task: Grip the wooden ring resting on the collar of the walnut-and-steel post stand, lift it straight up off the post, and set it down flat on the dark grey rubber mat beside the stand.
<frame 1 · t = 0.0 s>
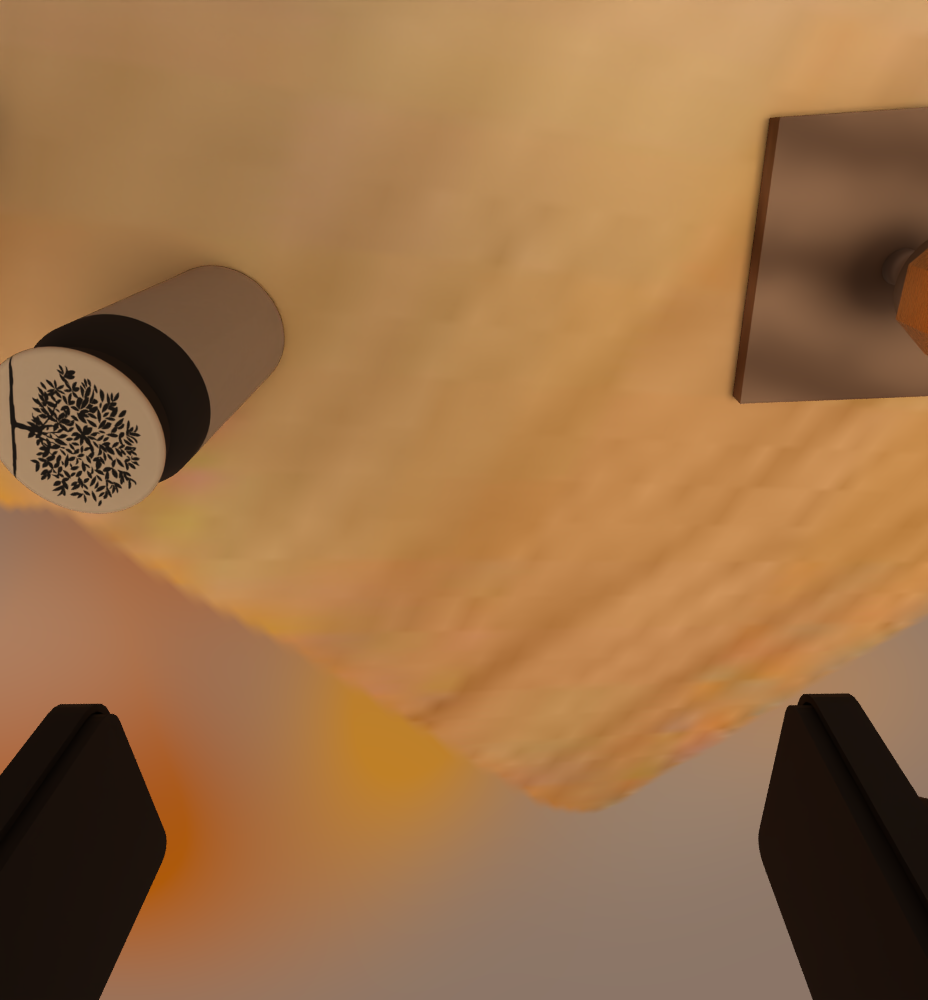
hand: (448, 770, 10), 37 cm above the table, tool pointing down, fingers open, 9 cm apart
post stand: (887, 262, 41), on the table
travel mug: (225, 328, 44), on the table
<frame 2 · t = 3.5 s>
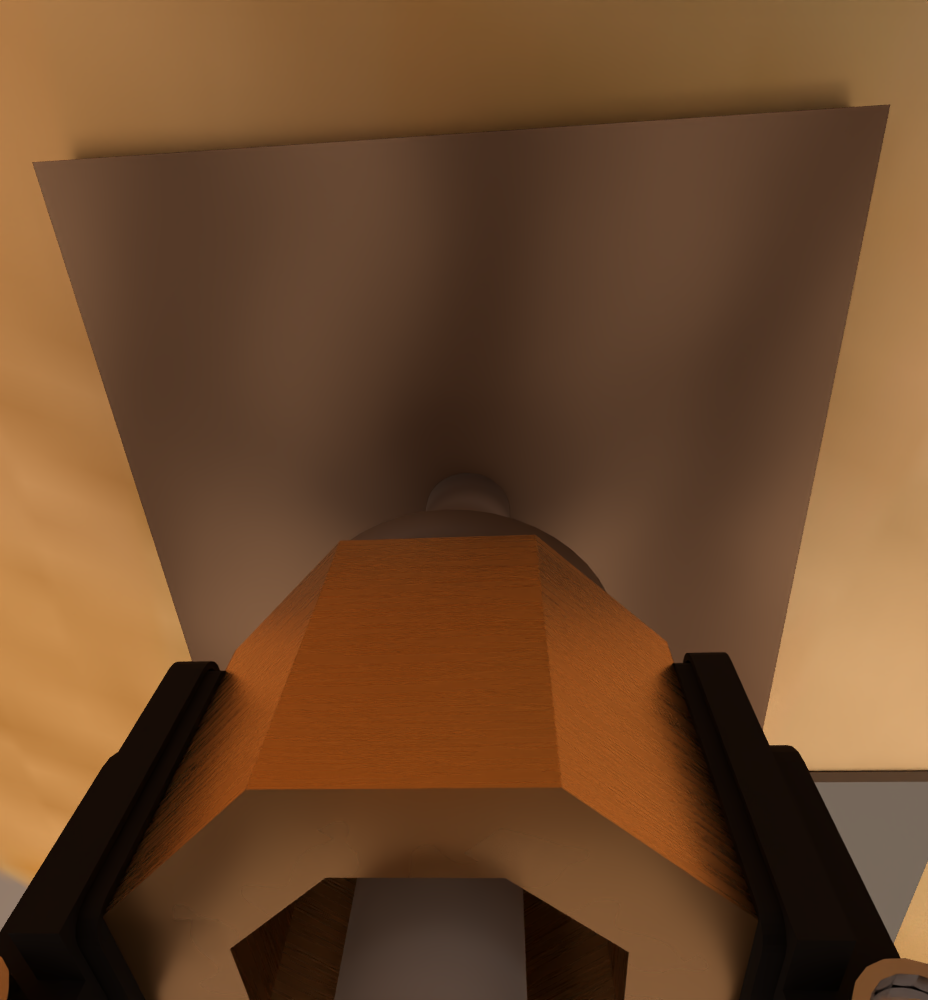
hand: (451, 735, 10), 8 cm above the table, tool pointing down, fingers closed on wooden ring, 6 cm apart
wooden ring: (452, 711, 11), point 8 cm above the table, touching gripper, post stand
post stand: (470, 482, 18), on the table
rubber mat: (710, 884, 25), on the table
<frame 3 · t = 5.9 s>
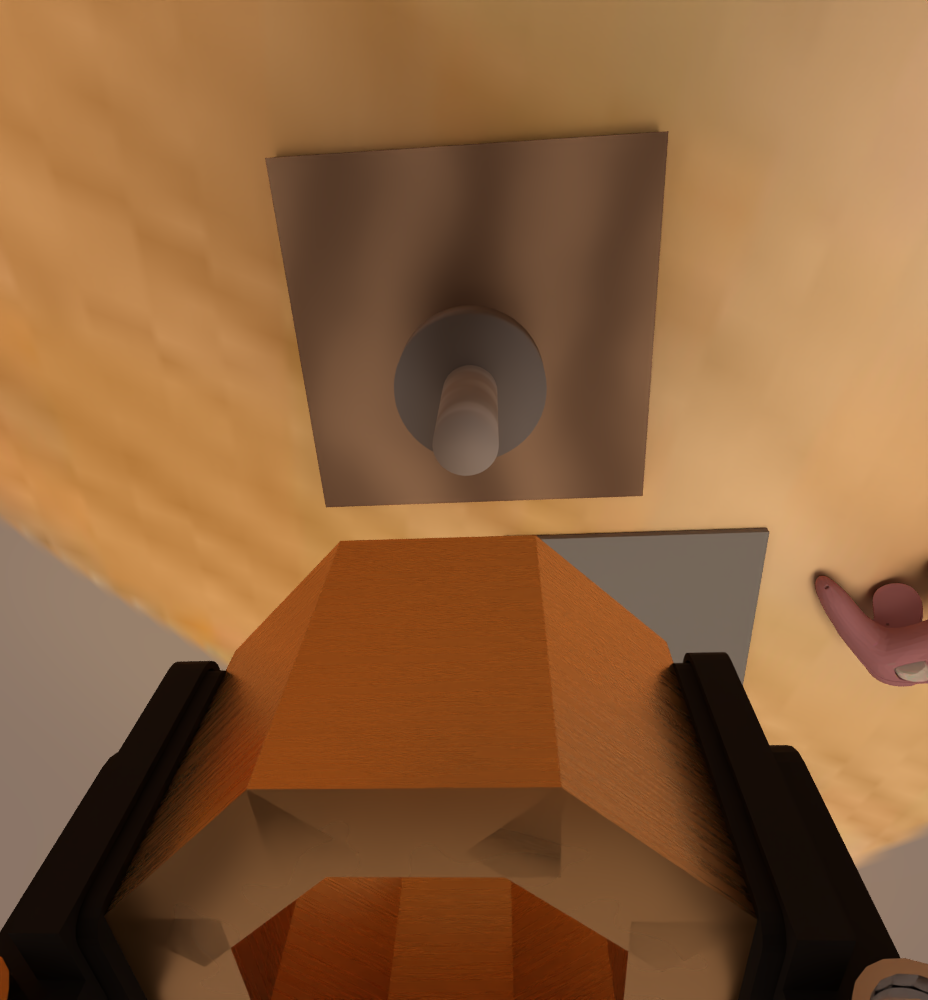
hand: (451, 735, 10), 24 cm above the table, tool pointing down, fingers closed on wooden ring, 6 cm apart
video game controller: (907, 568, 37), on the table
wooden ring: (452, 711, 11), point 24 cm above the table, touching gripper
post stand: (474, 336, 32), on the table
rubber mat: (627, 621, 39), on the table
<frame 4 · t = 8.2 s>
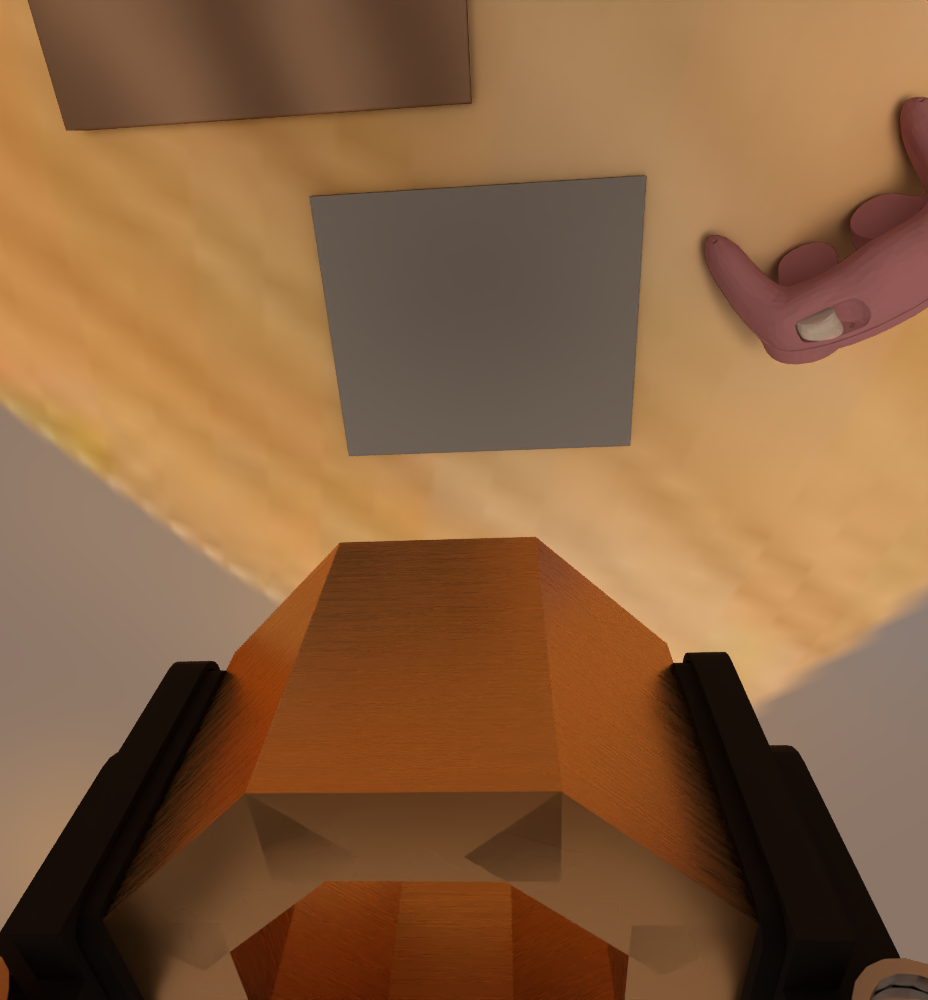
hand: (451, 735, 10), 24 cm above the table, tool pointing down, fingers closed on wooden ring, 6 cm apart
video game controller: (824, 230, 29), on the table
wooden ring: (452, 713, 11), point 24 cm above the table, touching gripper
rubber mat: (482, 328, 31), on the table
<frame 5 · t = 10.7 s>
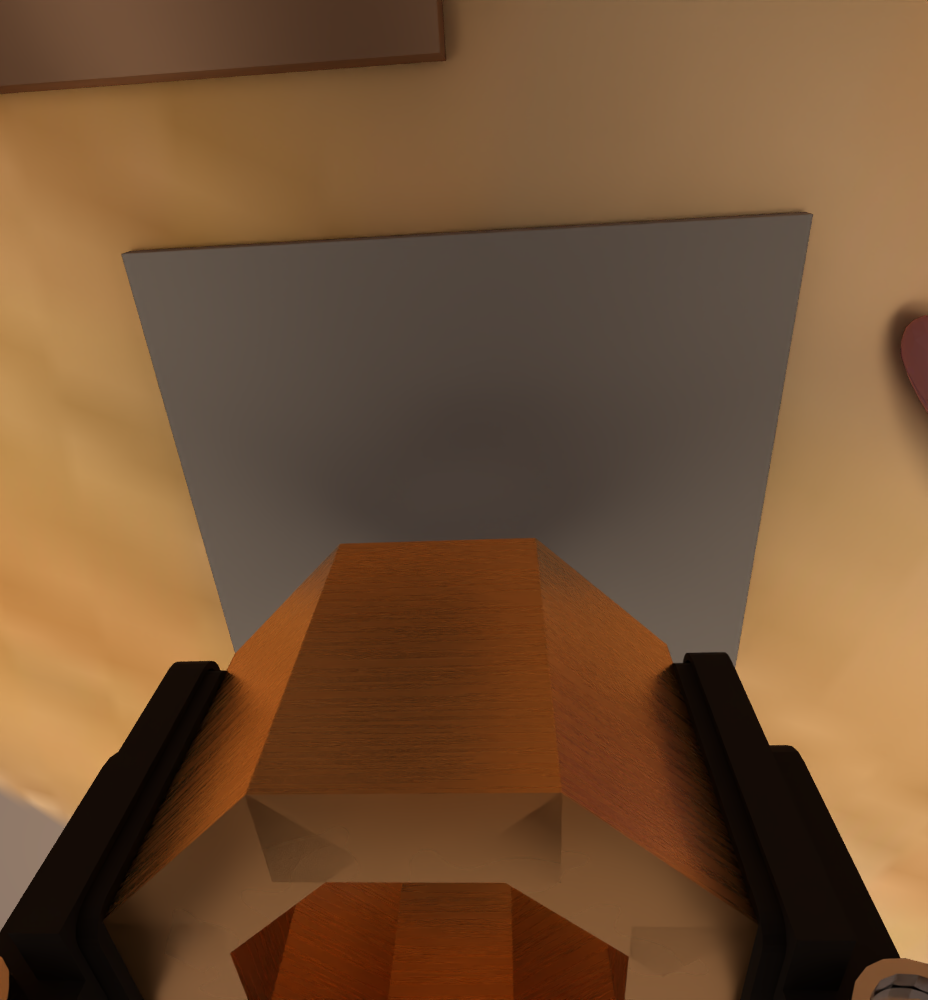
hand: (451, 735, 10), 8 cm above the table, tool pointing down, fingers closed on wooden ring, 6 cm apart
wooden ring: (452, 714, 11), point 7 cm above the table, touching gripper
rubber mat: (472, 488, 17), on the table
when the fingers open (3 cm above the table, at t = 12.9 s): wooden ring drops 2 cm, resting on rubber mat.
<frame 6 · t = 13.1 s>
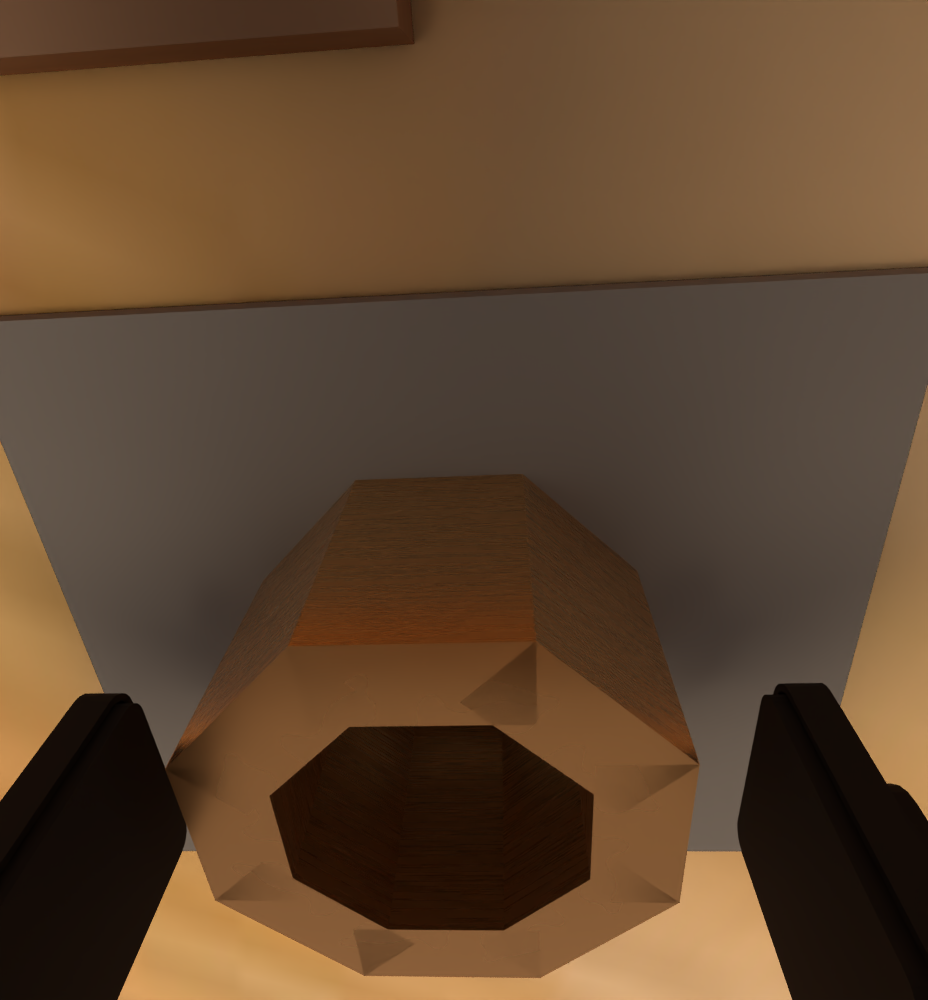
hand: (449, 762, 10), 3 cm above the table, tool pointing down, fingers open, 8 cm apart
wooden ring: (452, 636, 12), resting on rubber mat
rubber mat: (459, 624, 13), on the table
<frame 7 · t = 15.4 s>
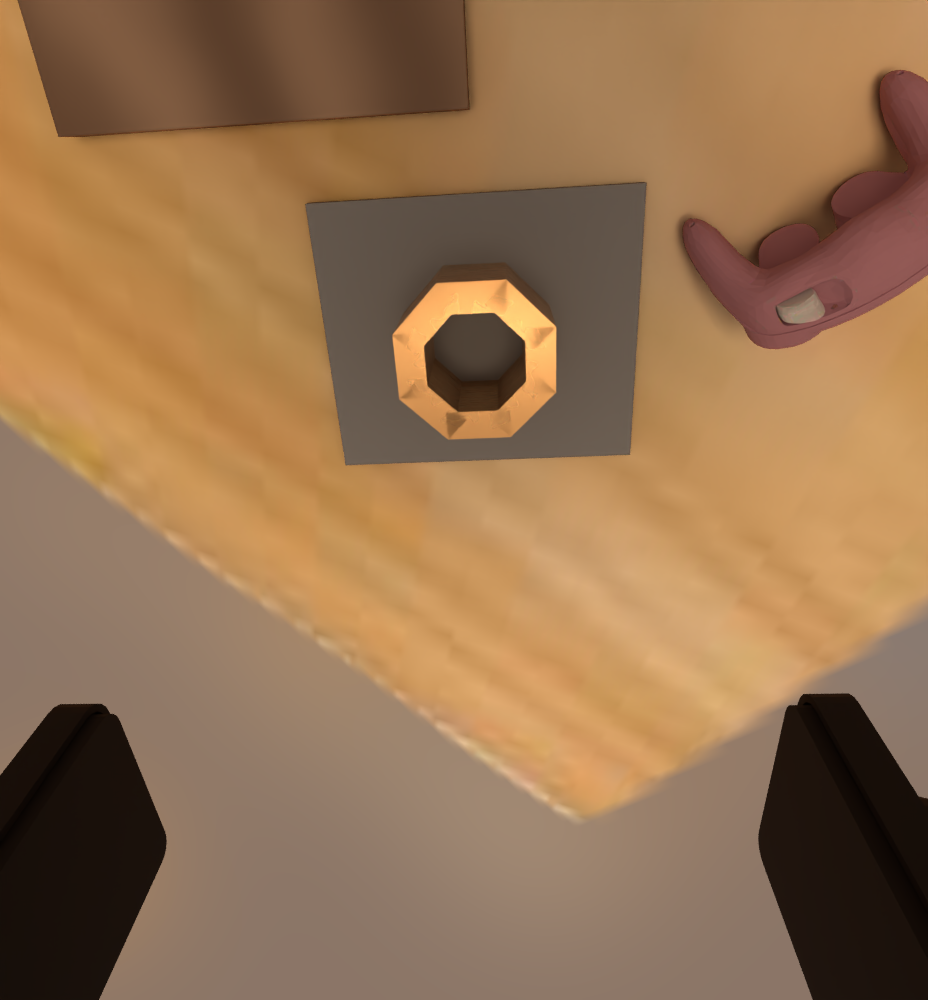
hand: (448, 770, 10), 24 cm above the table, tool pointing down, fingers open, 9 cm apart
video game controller: (805, 211, 28), on the table
wooden ring: (477, 338, 31), resting on rubber mat
rubber mat: (480, 336, 31), on the table
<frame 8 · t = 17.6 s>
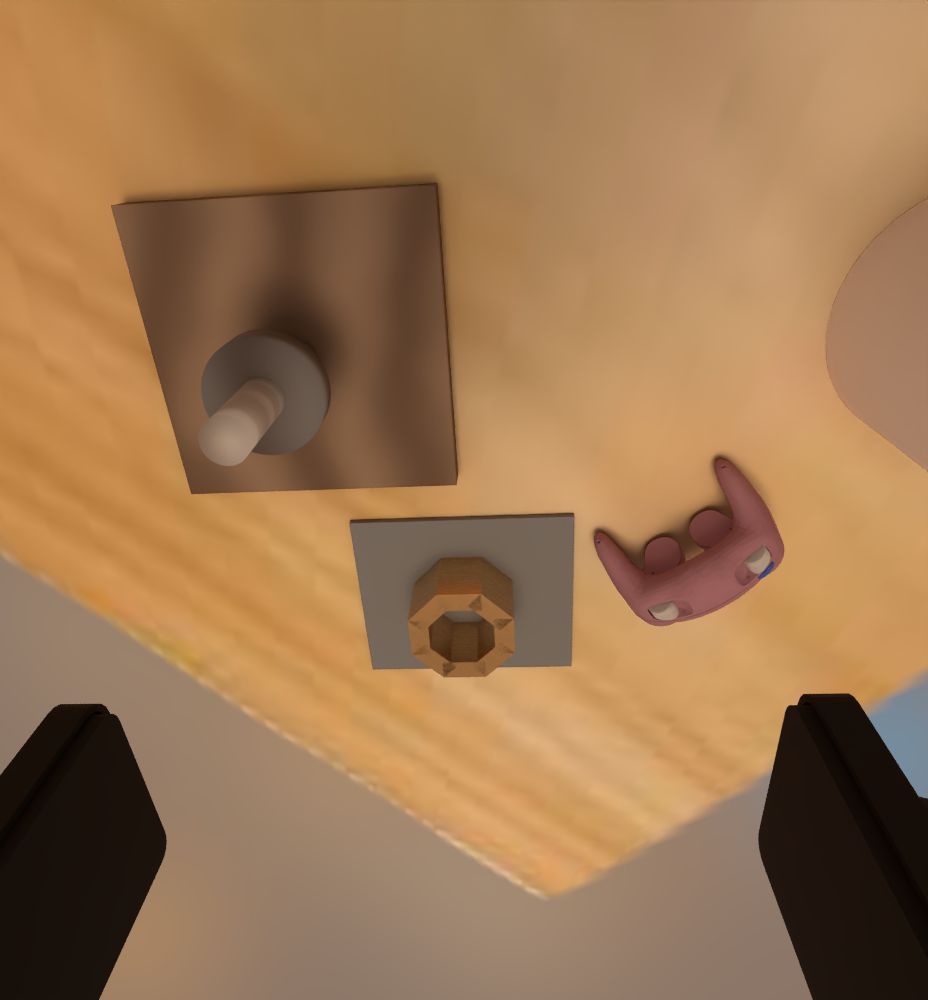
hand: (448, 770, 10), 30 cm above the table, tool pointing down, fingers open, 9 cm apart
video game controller: (676, 524, 43), on the table
wooden ring: (464, 597, 45), resting on rubber mat
post stand: (305, 349, 38), on the table
rubber mat: (466, 594, 45), on the table
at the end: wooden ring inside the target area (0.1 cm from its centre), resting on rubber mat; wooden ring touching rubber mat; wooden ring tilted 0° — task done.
